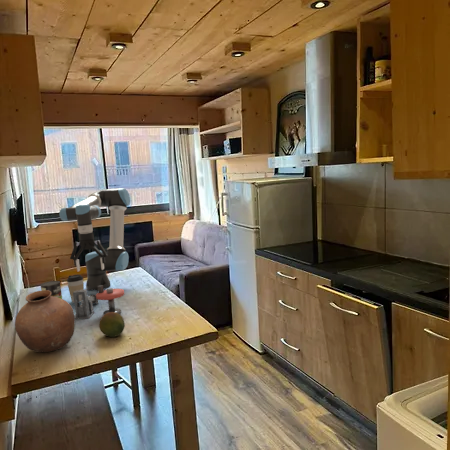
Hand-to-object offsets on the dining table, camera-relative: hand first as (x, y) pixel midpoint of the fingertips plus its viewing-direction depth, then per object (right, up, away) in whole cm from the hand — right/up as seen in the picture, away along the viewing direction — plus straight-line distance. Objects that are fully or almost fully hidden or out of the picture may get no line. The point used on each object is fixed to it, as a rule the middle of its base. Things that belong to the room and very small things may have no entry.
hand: (90, 270), depth 227 cm
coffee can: (-21, -21, +2) cm, 30 cm away
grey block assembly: (+1, -22, -14) cm, 26 cm away
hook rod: (+1, -17, -6) cm, 18 cm away
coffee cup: (-11, -19, +12) cm, 25 cm away
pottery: (0, -28, -54) cm, 61 cm away
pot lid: (+16, -11, -17) cm, 26 cm away
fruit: (+25, -24, -44) cm, 56 cm away
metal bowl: (+16, -21, -16) cm, 31 cm away
